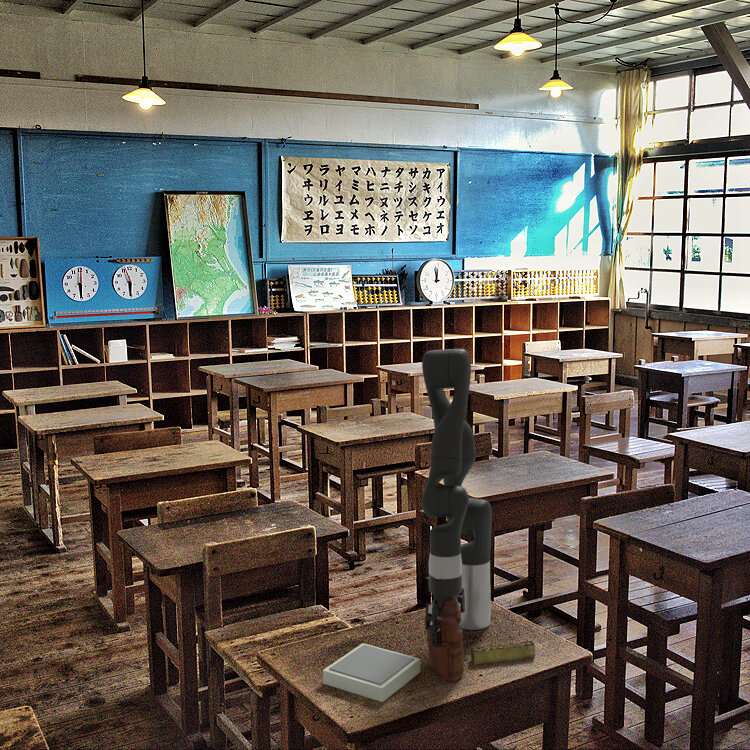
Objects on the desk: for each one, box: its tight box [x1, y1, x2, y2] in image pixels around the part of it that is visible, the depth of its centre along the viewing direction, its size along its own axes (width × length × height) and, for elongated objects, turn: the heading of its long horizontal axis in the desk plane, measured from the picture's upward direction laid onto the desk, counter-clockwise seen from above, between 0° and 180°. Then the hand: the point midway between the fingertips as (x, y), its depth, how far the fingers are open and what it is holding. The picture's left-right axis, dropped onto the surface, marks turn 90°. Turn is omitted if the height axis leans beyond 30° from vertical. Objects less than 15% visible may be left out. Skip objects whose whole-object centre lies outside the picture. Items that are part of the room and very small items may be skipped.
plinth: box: [322, 642, 421, 703], centre depth 199 cm, size 16×16×4 cm
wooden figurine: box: [426, 597, 465, 683], centre depth 201 cm, size 12×6×18 cm, turn 27°
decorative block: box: [470, 640, 536, 665], centre depth 207 cm, size 15×2×4 cm, turn 101°
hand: (445, 639), depth 201 cm, fingers open, 8 cm apart
